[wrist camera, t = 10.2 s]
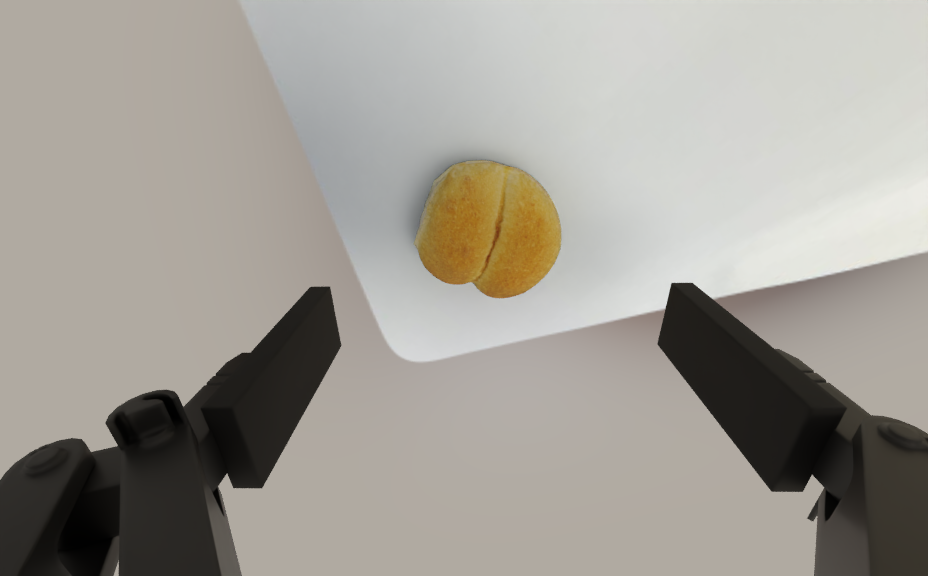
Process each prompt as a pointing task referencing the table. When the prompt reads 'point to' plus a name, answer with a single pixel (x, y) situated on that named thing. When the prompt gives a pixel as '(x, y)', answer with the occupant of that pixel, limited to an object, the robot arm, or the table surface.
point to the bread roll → (489, 229)
